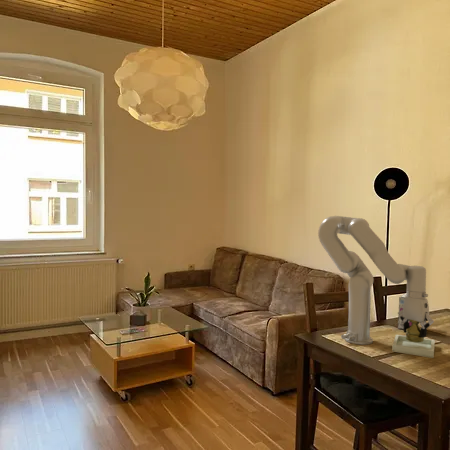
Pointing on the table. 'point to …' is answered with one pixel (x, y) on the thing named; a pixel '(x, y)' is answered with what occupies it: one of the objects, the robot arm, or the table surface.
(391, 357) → the table surface
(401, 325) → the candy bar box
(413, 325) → the brass door knob
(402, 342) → the tray
